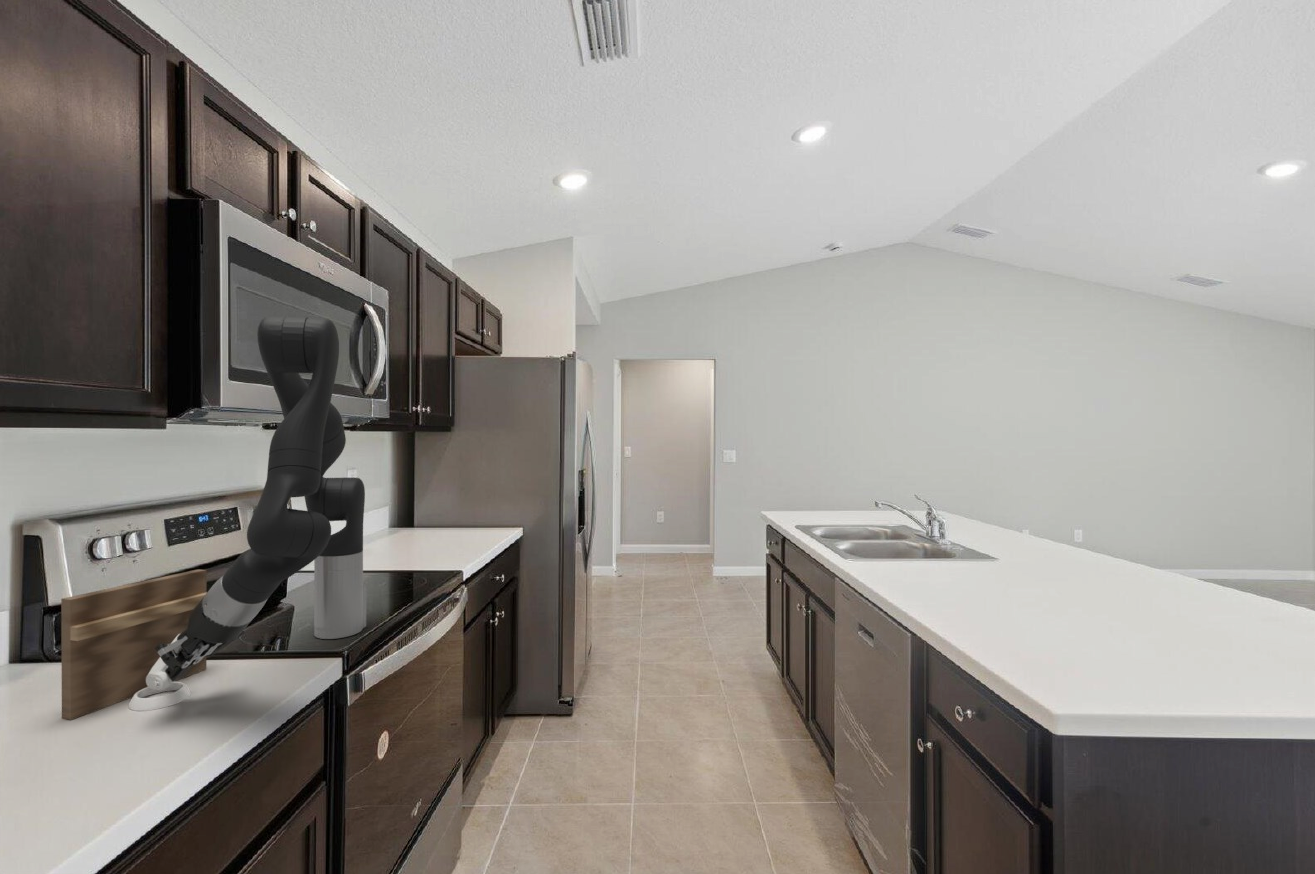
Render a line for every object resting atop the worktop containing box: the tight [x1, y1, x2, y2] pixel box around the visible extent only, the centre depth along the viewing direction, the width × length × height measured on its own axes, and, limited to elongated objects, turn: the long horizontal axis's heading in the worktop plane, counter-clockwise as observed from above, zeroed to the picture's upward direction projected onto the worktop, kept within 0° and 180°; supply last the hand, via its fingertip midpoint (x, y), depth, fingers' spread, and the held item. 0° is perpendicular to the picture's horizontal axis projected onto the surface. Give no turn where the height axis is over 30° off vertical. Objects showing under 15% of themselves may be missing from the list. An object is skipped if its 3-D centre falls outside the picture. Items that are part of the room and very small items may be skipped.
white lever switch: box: [128, 633, 191, 712], centre depth 97 cm, size 8×12×7 cm
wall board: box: [60, 568, 208, 721], centre depth 99 cm, size 20×4×18 cm, turn 163°
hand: (173, 674), depth 95 cm, fingers closed
